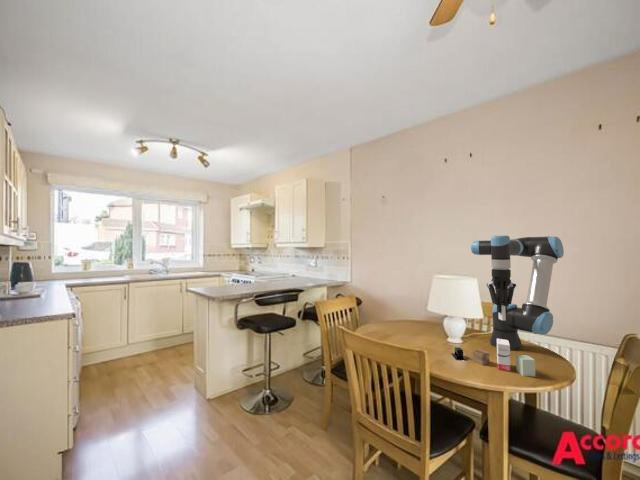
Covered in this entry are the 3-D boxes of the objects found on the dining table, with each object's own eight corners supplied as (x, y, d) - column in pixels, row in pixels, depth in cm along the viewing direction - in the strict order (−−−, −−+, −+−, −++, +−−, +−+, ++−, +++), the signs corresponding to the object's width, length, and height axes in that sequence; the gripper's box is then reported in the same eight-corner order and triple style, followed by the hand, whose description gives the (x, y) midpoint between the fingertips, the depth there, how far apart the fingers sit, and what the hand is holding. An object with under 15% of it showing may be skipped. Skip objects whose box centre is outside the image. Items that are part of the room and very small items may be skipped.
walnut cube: (480, 359, 141) (479, 349, 141) (489, 363, 136) (489, 353, 136) (472, 361, 139) (472, 351, 139) (482, 365, 134) (481, 354, 135)
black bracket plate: (471, 363, 138) (470, 353, 138) (455, 362, 139) (455, 352, 139) (462, 353, 151) (461, 344, 151) (447, 352, 152) (447, 344, 152)
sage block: (528, 371, 127) (528, 355, 128) (535, 376, 122) (535, 360, 123) (516, 370, 128) (516, 355, 128) (522, 375, 123) (522, 359, 123)
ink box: (511, 371, 127) (510, 345, 127) (498, 369, 130) (497, 343, 130) (509, 364, 135) (508, 339, 135) (496, 362, 137) (496, 338, 137)
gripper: (508, 267, 137) (510, 317, 136) (482, 268, 136) (483, 317, 136) (520, 269, 129) (521, 321, 129) (492, 269, 129) (493, 322, 128)
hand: (502, 319), depth 132 cm, fingers closed
